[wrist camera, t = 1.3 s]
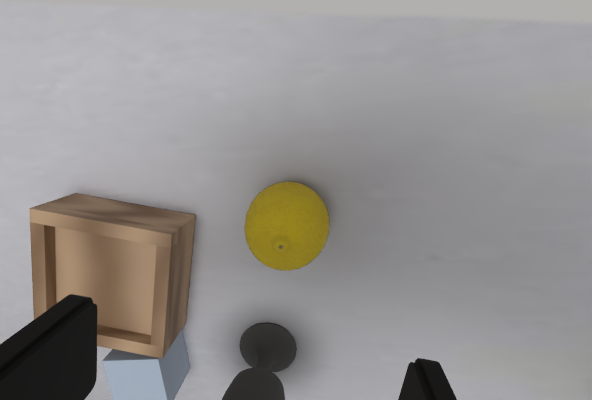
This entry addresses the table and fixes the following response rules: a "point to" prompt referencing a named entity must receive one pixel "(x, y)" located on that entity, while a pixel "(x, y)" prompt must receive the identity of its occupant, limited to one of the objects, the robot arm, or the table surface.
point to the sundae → (262, 363)
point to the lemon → (287, 226)
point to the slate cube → (147, 373)
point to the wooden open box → (115, 267)
